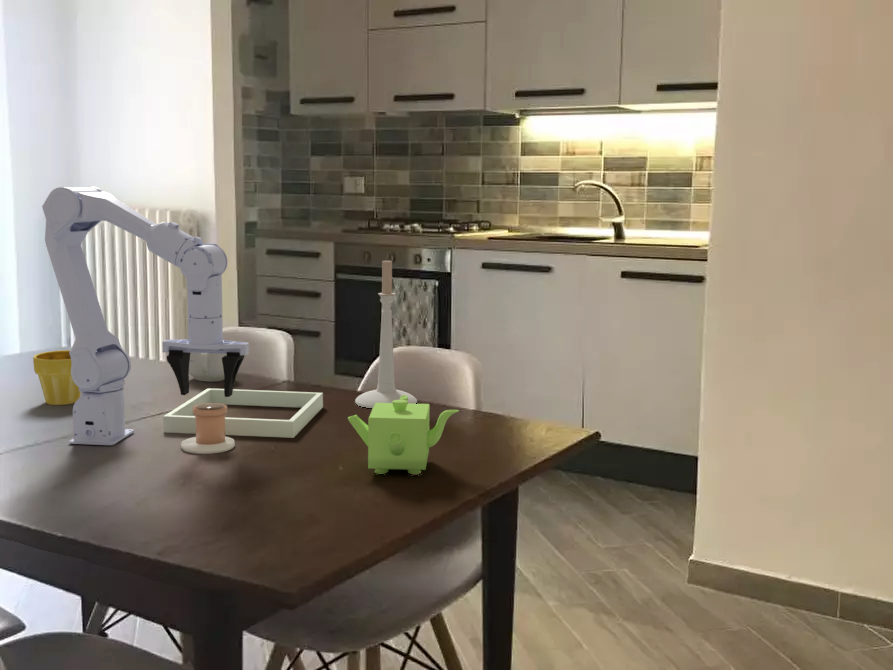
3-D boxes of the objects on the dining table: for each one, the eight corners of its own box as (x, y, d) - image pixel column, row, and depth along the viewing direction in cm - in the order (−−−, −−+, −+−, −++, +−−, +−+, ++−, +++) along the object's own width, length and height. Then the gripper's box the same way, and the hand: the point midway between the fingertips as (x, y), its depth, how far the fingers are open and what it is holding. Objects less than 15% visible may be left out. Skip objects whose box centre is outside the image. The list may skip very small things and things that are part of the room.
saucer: (225, 455, 168) (225, 450, 168) (173, 452, 169) (173, 448, 169) (241, 440, 177) (241, 436, 177) (191, 438, 178) (191, 434, 178)
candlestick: (389, 393, 217) (390, 254, 212) (429, 403, 208) (431, 259, 203) (342, 402, 208) (342, 257, 203) (383, 413, 199) (383, 262, 194)
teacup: (197, 373, 234) (196, 340, 233) (242, 375, 233) (241, 341, 232) (173, 386, 221) (172, 350, 219) (220, 388, 219) (219, 352, 218)
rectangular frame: (293, 437, 180) (293, 421, 179) (163, 432, 182) (163, 416, 181) (322, 407, 203) (322, 392, 203) (207, 402, 205) (207, 388, 205)
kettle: (403, 450, 173) (404, 387, 171) (463, 468, 163) (464, 401, 161) (335, 467, 162) (336, 399, 160) (394, 487, 152) (395, 415, 151)
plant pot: (54, 410, 197) (51, 361, 196) (25, 402, 203) (22, 354, 202) (100, 401, 205) (98, 354, 204) (71, 393, 211) (69, 348, 210)
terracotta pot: (221, 445, 171) (221, 411, 170) (188, 444, 171) (187, 409, 170) (232, 437, 176) (231, 403, 175) (200, 435, 177) (199, 402, 176)
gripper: (253, 314, 173) (254, 391, 175) (172, 311, 174) (174, 388, 176) (241, 320, 166) (242, 400, 168) (156, 317, 167) (158, 396, 169)
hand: (206, 394), depth 171 cm, fingers open, 7 cm apart
